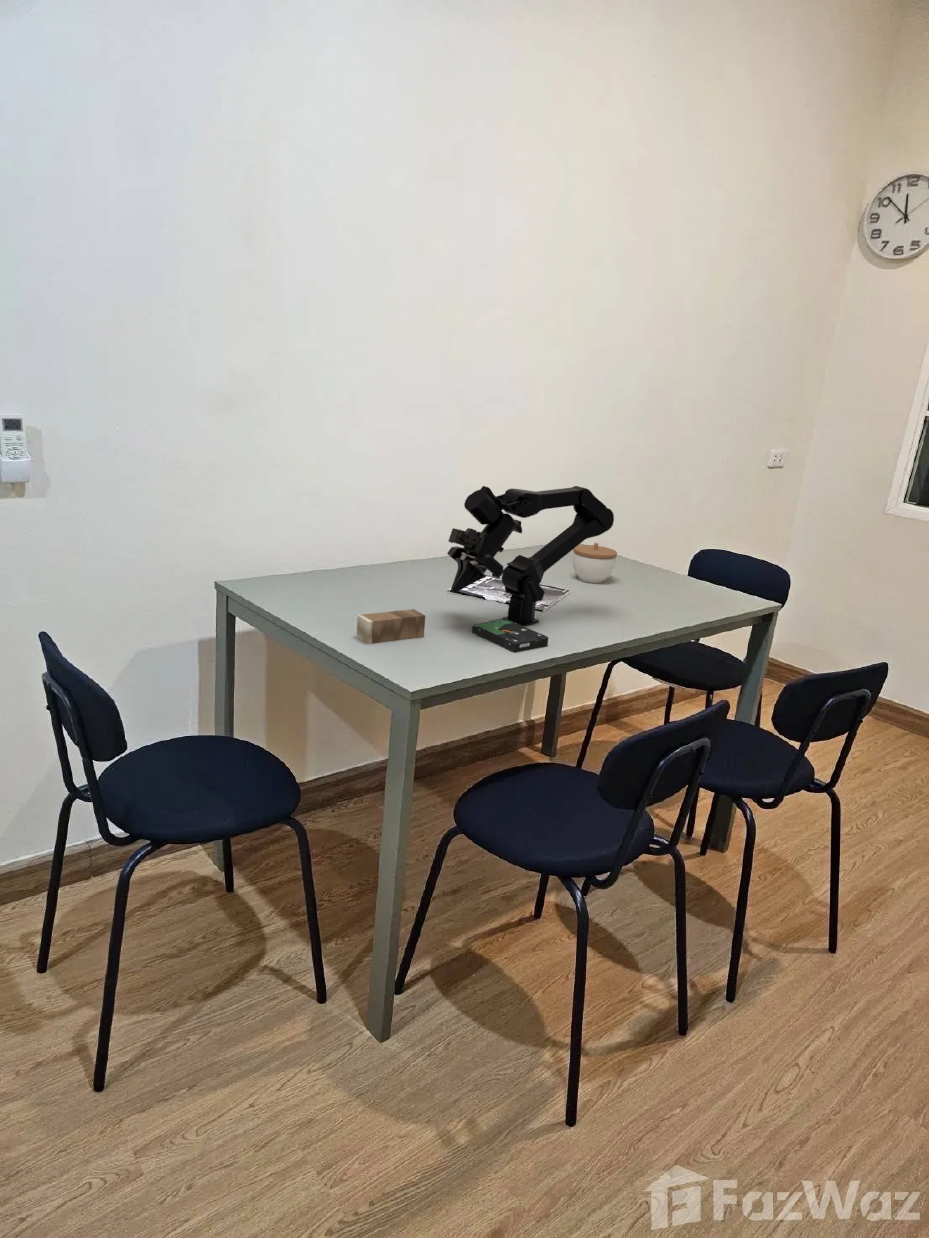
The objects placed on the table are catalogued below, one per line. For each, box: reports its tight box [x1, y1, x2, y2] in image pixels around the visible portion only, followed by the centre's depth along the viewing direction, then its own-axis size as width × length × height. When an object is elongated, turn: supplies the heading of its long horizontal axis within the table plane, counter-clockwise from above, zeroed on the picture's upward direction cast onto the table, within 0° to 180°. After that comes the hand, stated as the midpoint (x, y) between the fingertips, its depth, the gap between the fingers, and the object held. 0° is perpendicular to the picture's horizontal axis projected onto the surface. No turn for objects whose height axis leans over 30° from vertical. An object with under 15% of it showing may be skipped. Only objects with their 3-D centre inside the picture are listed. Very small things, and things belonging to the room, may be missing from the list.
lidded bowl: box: [572, 542, 618, 584], centre depth 249 cm, size 13×13×11 cm
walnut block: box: [356, 608, 426, 645], centre depth 185 cm, size 5×5×14 cm
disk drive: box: [471, 618, 549, 654], centre depth 191 cm, size 10×3×15 cm
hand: (452, 591), depth 191 cm, fingers closed
